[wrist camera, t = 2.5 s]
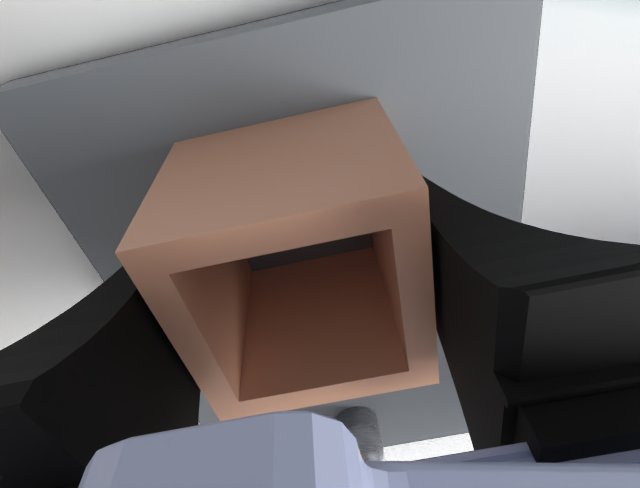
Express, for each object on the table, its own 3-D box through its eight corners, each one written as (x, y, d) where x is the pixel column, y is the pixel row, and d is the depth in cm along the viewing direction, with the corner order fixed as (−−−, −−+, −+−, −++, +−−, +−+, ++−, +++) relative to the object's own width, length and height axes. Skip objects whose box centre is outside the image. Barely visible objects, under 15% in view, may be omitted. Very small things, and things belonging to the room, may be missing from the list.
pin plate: (517, -43, 11) (679, -29, 6) (489, 400, 23) (539, 514, 18) (10, 80, 12) (-159, 167, 7) (236, 444, 23) (225, 563, 19)
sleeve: (376, 97, 11) (428, 187, 7) (396, 258, 14) (439, 383, 10) (174, 142, 12) (115, 253, 7) (238, 290, 15) (220, 422, 11)
